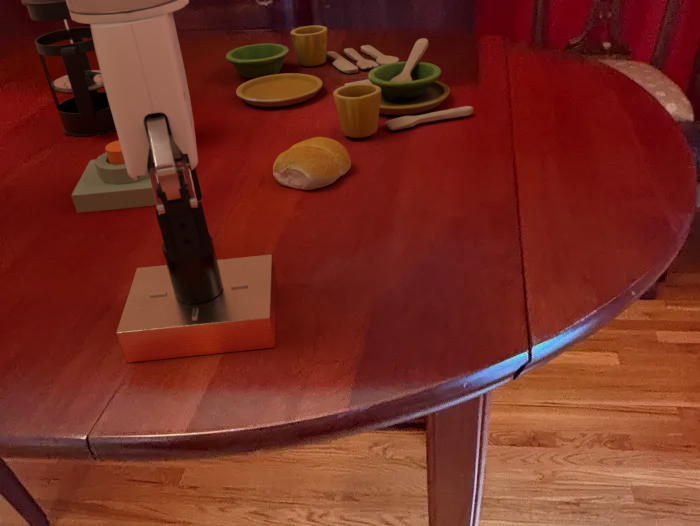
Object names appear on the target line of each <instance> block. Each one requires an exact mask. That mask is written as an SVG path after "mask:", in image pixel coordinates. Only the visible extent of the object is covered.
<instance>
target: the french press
mask: <svg viewBox="0 0 700 526" xmlns="http://www.w3.org/2000/svg"><path fill="white" fill-rule="evenodd" d="M20 1H21V4H22V5H23V6H26V9H27V11H28V15H29V18H30V19H31V20H32V21H34V22H56V21H57V22H58V21H63V23H64V26H65V29H59V30H56V31H52V32H47V33H45V34H42V35H40V36H38V37H37V38H36V39H35V40H34V44H35V47H36V50H37V53H38V56H39V59H40V62H41V65H42V69H43V71H44V74H45V77H46V80H47V84H48V86H49V89H50V92H51V95H52V98H53V101H54V104H55V107H56V110H57V113H58V116H59V119H60V122H61V125H62V127H61V129H62V133H63V132H64V133H65V134H66V135H68V136H67V137H70V136H73V137H72V138H75V137H89V138H92V137H91V136H97V135H102V136H104V135H103V134H107V133H110V132H113V133H115V132H114V131H116V127H115V123H114V120H113V116H112V112H111V109H110V105H109V102H108V98H107V94H106V91H98V90H101V89H105V87H104V83H103V79H102V76H101V72H100V69H94V70H93V69H92V67H91V64H90V60H89V57H88V54H87V53H90V52H93V51H95V47H94V42H93V37H92V32H91V27H90V26H82V27H71V28H70V26H69V23H68V20H72V19H71V16H70V12H69V9H68V6H67V3H66V0H20ZM85 38H86V40H83V39H85ZM89 38H90V39H89ZM64 41H68V42H69V43H65V44H55V43H60V42H64ZM45 57H61V58H62V62H63V66H64V69H65V72H66V75H63V76H60V77H58V78H57V79H54V80H53V81H52V77H51V75H50V72H49V69H48V66H47V63H46V60H45ZM57 93H60V94H65V95H66V94H69V95H73V96H72V97H69V98H67V99H65V100H62V101H61V102H60V103H59V100H58V96H57ZM64 133H63V134H64ZM65 134H64V135H65ZM110 134H111V133H110ZM66 135H65V136H66ZM107 135H108V134H107ZM97 137H98V136H97Z"/></svg>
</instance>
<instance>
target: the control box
mask: <svg viewBox="0 0 700 526" xmlns="http://www.w3.org/2000/svg"><path fill="white" fill-rule="evenodd" d="M152 159H153V158H152ZM70 197H71V200H72V202H73V206H74V208H75V211H76V213H77V214H80V213H81V214H82V213H91V212H92V213H93V212H101V211H110V210H120V209H121V210H122V209H132V208H142V207H153V206H156V202H155V198H154V194H153V189H152V185H151V180H150V176H149V173H148V167H147V170H146V175H143V176H139V180H134V179H132V178H131V177H130V176H129V175H128V173H127V169H126V165H125V164H121V165H113V164H110V163H109V160H108V157H107V153H106V152H103V153H102V154H100V155H99V156H97V157H96V159H90V160H89V161H88V163H87V166H86V167H85V169H84V171H83V173H82V175H81V177H80V178H79V180H78V182H77V184H76V186H75V187H74V190H73V191H72V193H71V196H70Z"/></svg>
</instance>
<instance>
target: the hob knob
mask: <svg viewBox="0 0 700 526" xmlns="http://www.w3.org/2000/svg"><path fill="white" fill-rule="evenodd" d="M209 236H210V240H211V244H212V249H213V252H212V254H211V255H209V256H204V257H199V258H194V259H189V260H184V261H179V262H171V261H170V260H169V258H168V255H167V251H166V248H165V244H164V242H162V245H161V249H162V253H163V257H164V260H165V265H167V268H168V272H169V276H170V279H171V283H172V287H173V290H174V294H175V297H176V298H177V299H178V300H179V301H181V302H184V303H201V302H205V301H208V300H211V299H213V298H215V297H216V296H218V295H219V294H220V293H221V291H222V289H223V284H222V279H221V275H220V270H219V266H218V261H217V260H218V257H217V253H216V249H215V244H214V239H213V236H212V235H211V234H210V233H209Z"/></svg>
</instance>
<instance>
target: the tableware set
mask: <svg viewBox="0 0 700 526" xmlns="http://www.w3.org/2000/svg"><path fill="white" fill-rule="evenodd" d="M289 32H290V37H291V40H292V44H293V48H294V53H295V55H296V59H297V63H298V64H299V66H301V67H317V66H321V65H323V64H325V63H326V60H327V58H328V59H330V60H332V61H333V62H332V66H334V68H336V69H337V70H339V71H340V72H341V73H344V74H347V75H351V74H357V73H359V70H363V71H365V70H367V69H371V70H370V71H369V72H368V73H367V79H361V80H357V81H352V82H346V83H344V85H342V86H340V87H338V88H335V89H334V91H333V92H332V95H333V100H334V103H335V107H336V111H337V112H336V113H337V117H338V120H339V125H340V129H341V133H342V134H343V135H344V136H346V137H348V138H353V139H360V138H361V139H362V138H366V137H370V136H372V135H374V134H376V133H377V132H378V128H379V119H380V118H379V116H380V114H382V115H389V116H400V117H396V118H392V119H389V120H386V121H384V125H385V126H386V127H387V128H388V129H389V130H390V131H398V130H403V129H408V128H413V127H414V126H416V125H418V124H422V123H429V122H435V121H442V120H450V119H454V118H461V117H466V116H470V115H472V114H473V113H474V107H473V106H470V105H464V106H459V107H455V108H449V109H444V110H443V109H442V110H439V111H434V112H433V111H432V112H429V113H425V112H428V111H431V110H433V109H435V108H437V107H439V106H440V105H441V104H442V103H443V102H444V101H445V100H446V99H447V98H448V97H449V95H450V92H451V90H450V87H449V86H448V85H447V84H445V83H444V82H441V81H438V80H439V78H440V77H441V75H442V69H441V68H440V67H439V66H437V65H436V64H433V63H430V62H424V61H421V59H422V57H423V55H424V54H425V52H426V51H427V49H428V47H429V40H428V39H427V38H425V37H424V38H423V37H422V38H419V39H417V40H416V41H415V43H414V45H413V47H412V49H411V51H410V54H409V56H408V59H407V60H406V61H400V58H399V57H397V56H393V55H385V54H384V53H382V52H380V51H379V50H378V49H376V48H375V47H374V46H372V45H370V44H365V45H364V44H363V45H361V46H360V52H361V53H363V54H365V55H367V56H369V55H370V56H369V57H371V58H372V59H375V61H374V60H372V59H366V58H364V57H363V56H362V55H361V54H360V53H358V51H356V50H355V49H354V48H352V47H346V48H344V49H343V54H344V55H345V56H347V57H348V58H349V59H351V60H353V61H354V62H356V65H355V64H353V62H350V61H349V60H348V59H346V58H345V57H343V56H342V55H340V54H339V53H338V52H336V51H333V50H332V51H327V49H328V48H327V47H328V27H327V26H324V25H317V24H316V25H306V26H299V27H296V28H293V29H291V31H289ZM289 52H290V49H289V48H288V46H286V45H283V44H280V43H272V42H271V43H270V42H269V43H255V44H254V43H253V44H248V45H243V46H239V47H236V48H234V49H231V50H229V51H228V52H227V53H226V55H225V59H226V61H228V62H229V63H230V64H232V66H233V67H234V69H235V71H237V72H238V73H239V75H240V76H241V77H242V78H245V79H249V80H247V81H245V82H243V83H242V84H240V85H239V86H238V87H237V88H236V89H235V90H236V91H235V94H236V96H238V98H239V99H241V100H242V101H243V102H245V103H247V104H248V105H250V106H255V107H262V108H276V107H285V106H292V105H296V104H300V103H304V102H306V101H309V100H311V99H312V98H314V97H315V96H317V94H318V92H319V91H321V89H322V87H323V84H324V82H323V81H322V79H321V78H320V77H317V76H315V75H312V74H306V73H295V72H289V73H287V72H285V73H280V71H281V69H282V66H283V63H284V61H285V59H286V58H287V56H288V54H289ZM420 113H423V114H420ZM413 114H420V115H413ZM401 115H403V116H401Z"/></svg>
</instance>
